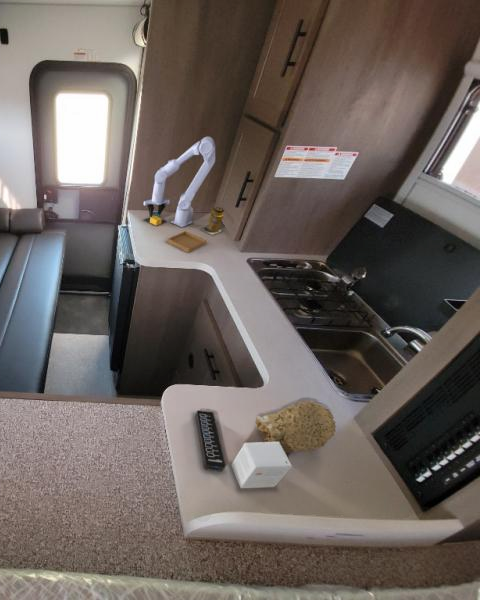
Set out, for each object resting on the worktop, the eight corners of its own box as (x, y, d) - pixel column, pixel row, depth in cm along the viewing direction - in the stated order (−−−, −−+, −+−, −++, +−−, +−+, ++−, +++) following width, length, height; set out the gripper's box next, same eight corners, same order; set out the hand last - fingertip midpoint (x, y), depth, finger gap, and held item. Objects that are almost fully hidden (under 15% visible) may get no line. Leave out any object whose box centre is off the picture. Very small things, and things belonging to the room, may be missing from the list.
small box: (262, 463, 79) (279, 440, 72) (274, 488, 74) (293, 466, 68) (230, 464, 78) (244, 441, 72) (239, 489, 74) (255, 467, 67)
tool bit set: (211, 416, 88) (213, 411, 87) (223, 471, 77) (226, 467, 76) (194, 415, 89) (196, 410, 87) (203, 469, 77) (206, 464, 76)
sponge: (271, 464, 80) (356, 451, 78) (273, 443, 76) (362, 428, 75) (245, 421, 91) (319, 409, 90) (246, 401, 88) (322, 388, 86)
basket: (184, 234, 172) (185, 231, 171) (205, 243, 164) (206, 240, 163) (166, 242, 165) (167, 238, 164) (188, 252, 157) (189, 249, 156)
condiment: (222, 230, 176) (228, 209, 168) (212, 235, 172) (218, 213, 165) (210, 226, 181) (216, 205, 173) (201, 230, 177) (206, 208, 169)
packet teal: (155, 216, 189) (156, 211, 187) (159, 220, 185) (159, 215, 183) (149, 217, 188) (150, 212, 186) (152, 220, 184) (153, 215, 183)
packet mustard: (154, 220, 184) (155, 215, 183) (161, 223, 181) (162, 218, 179) (149, 222, 183) (150, 217, 181) (156, 225, 179) (156, 220, 178)
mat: (154, 216, 190) (154, 215, 190) (166, 221, 184) (166, 221, 184) (143, 220, 185) (143, 219, 185) (155, 226, 180) (155, 225, 180)
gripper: (148, 196, 173) (144, 220, 182) (173, 194, 175) (169, 218, 184) (143, 191, 179) (140, 215, 187) (168, 190, 181) (164, 213, 189)
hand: (154, 216), depth 186 cm, fingers closed on packet teal, 4 cm apart
